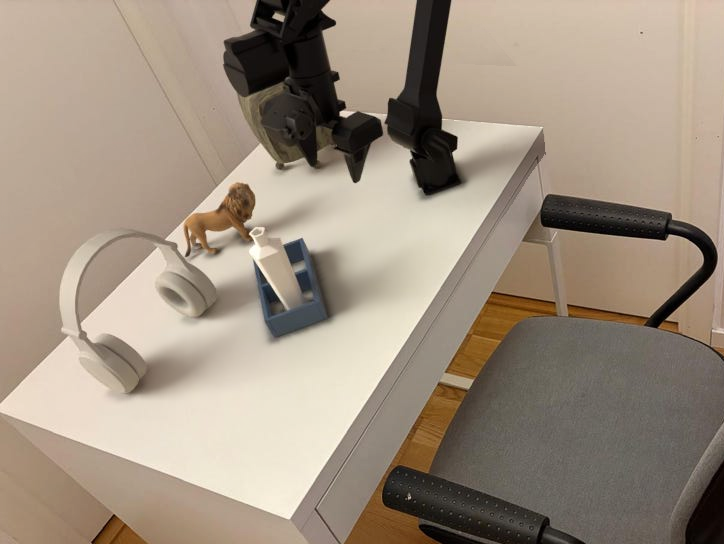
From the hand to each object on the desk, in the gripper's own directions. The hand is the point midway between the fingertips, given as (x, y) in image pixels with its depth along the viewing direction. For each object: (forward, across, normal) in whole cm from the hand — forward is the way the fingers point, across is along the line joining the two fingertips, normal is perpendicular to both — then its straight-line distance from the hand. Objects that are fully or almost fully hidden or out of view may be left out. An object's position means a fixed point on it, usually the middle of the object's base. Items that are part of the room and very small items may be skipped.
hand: (334, 173), depth 109 cm
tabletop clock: (+11, -23, +13) cm, 28 cm away
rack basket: (+14, 0, -13) cm, 19 cm away
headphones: (+16, -10, -30) cm, 36 cm away
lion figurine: (+14, -20, -9) cm, 26 cm away
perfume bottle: (+14, +3, -15) cm, 21 cm away
